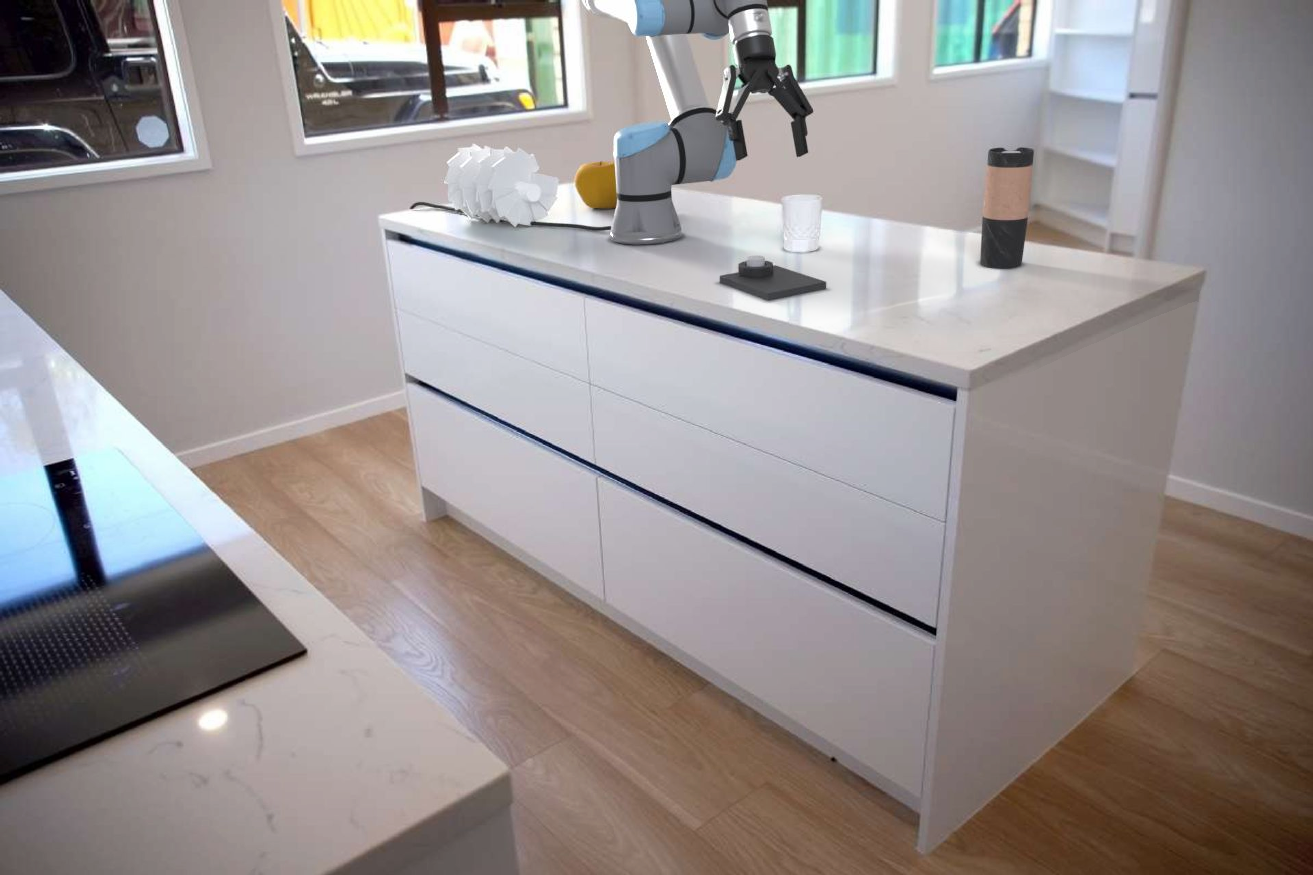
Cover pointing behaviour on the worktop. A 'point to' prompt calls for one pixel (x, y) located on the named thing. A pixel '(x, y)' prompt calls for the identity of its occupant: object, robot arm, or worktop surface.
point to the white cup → (801, 222)
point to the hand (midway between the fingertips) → (772, 156)
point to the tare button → (755, 261)
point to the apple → (597, 184)
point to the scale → (771, 281)
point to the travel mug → (1006, 207)
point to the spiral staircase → (499, 185)
